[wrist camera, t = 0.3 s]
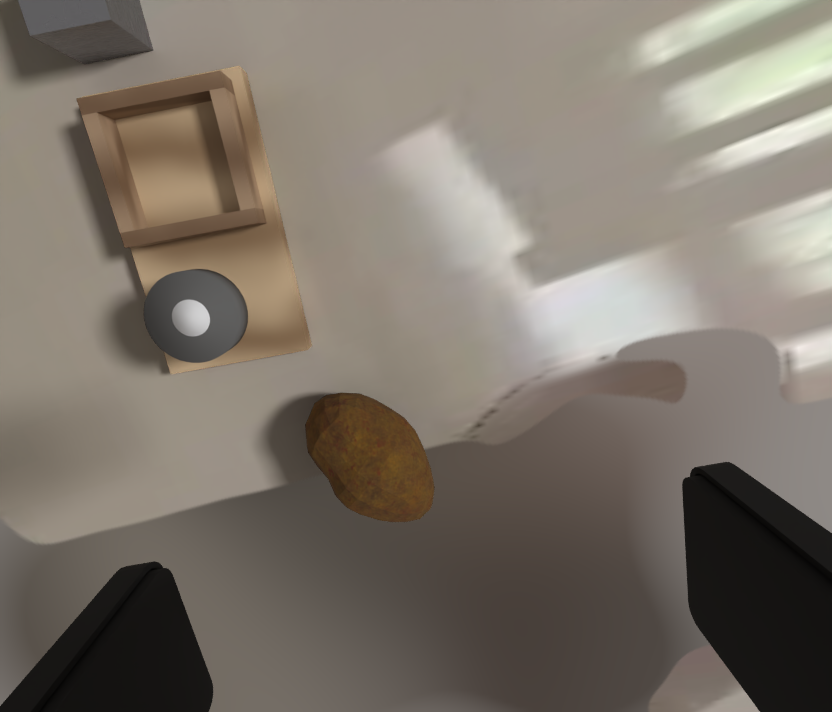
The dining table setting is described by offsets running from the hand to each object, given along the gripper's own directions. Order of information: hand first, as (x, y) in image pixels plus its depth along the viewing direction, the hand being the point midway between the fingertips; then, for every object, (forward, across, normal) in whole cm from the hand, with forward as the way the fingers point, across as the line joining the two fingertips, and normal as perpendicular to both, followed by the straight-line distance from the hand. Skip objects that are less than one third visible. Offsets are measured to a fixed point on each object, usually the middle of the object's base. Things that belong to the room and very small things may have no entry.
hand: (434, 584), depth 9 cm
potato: (+31, +5, +10) cm, 33 cm away
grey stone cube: (+30, +17, -24) cm, 42 cm away
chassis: (+30, +14, -9) cm, 35 cm away
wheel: (+25, +14, -4) cm, 29 cm away
